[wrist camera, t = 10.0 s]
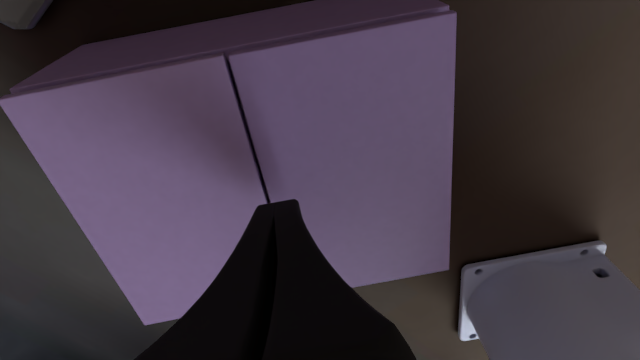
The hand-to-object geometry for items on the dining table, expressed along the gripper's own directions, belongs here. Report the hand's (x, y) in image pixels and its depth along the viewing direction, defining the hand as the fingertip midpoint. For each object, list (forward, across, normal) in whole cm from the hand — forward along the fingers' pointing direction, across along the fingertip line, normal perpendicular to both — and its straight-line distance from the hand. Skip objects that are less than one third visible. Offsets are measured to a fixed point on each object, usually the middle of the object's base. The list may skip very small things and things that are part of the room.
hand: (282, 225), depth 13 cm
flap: (+2, +4, 0) cm, 4 cm away
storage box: (+8, 0, 0) cm, 8 cm away
